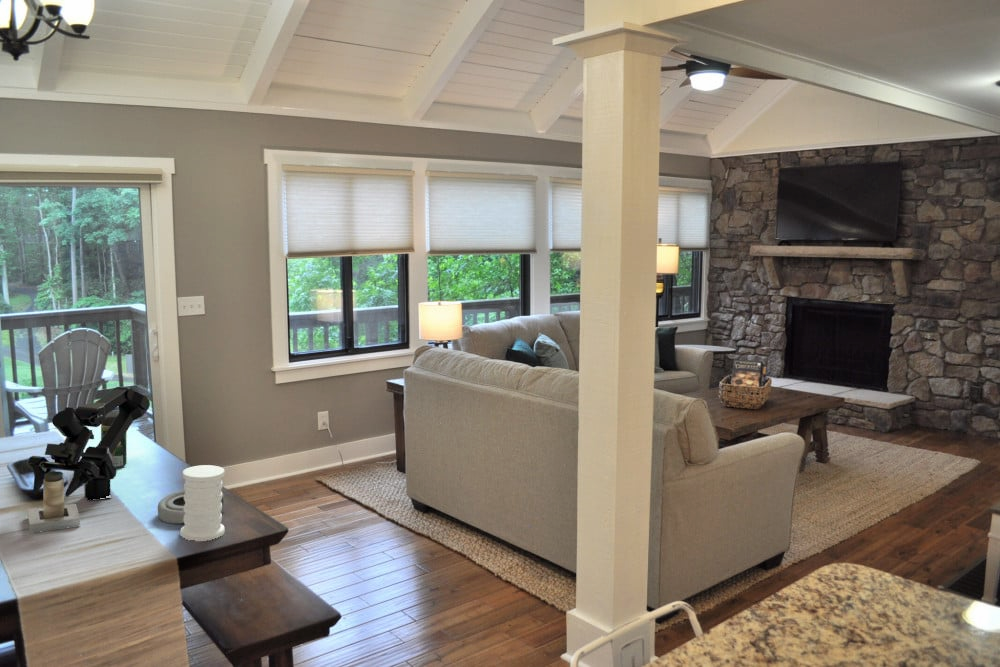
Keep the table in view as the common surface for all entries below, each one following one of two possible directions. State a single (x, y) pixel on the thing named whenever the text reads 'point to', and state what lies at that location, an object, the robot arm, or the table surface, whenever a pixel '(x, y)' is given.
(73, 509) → the housing plate
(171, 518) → the turbocharger housing
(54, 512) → the tan bottle
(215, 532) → the decorative container
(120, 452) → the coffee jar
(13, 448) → the table surface
